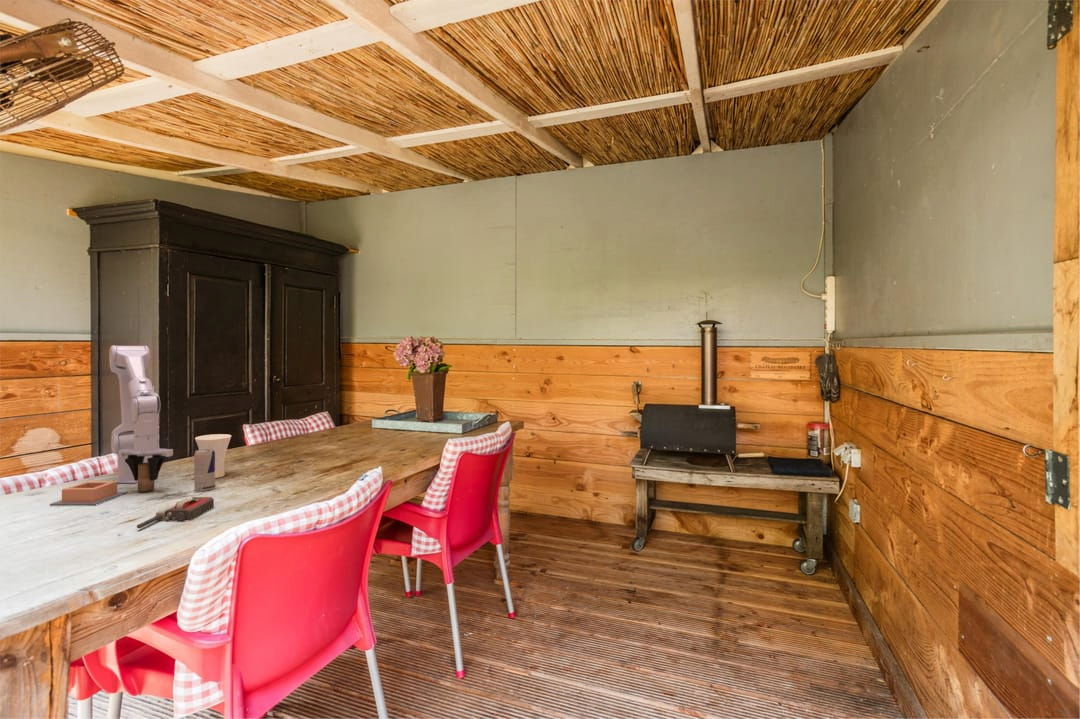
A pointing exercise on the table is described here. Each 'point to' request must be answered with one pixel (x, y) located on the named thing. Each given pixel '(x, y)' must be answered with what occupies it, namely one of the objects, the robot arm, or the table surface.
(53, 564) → the table surface
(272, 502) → the table surface
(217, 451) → the cup
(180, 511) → the walkie-talkie
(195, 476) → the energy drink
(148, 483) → the walnut peg
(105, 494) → the socket
